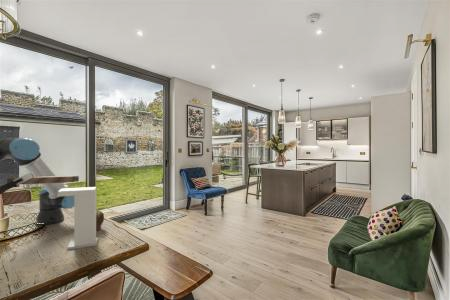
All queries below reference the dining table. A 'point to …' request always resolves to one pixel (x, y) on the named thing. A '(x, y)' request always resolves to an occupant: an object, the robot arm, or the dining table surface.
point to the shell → (99, 219)
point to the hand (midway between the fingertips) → (31, 174)
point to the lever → (48, 179)
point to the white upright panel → (83, 216)
